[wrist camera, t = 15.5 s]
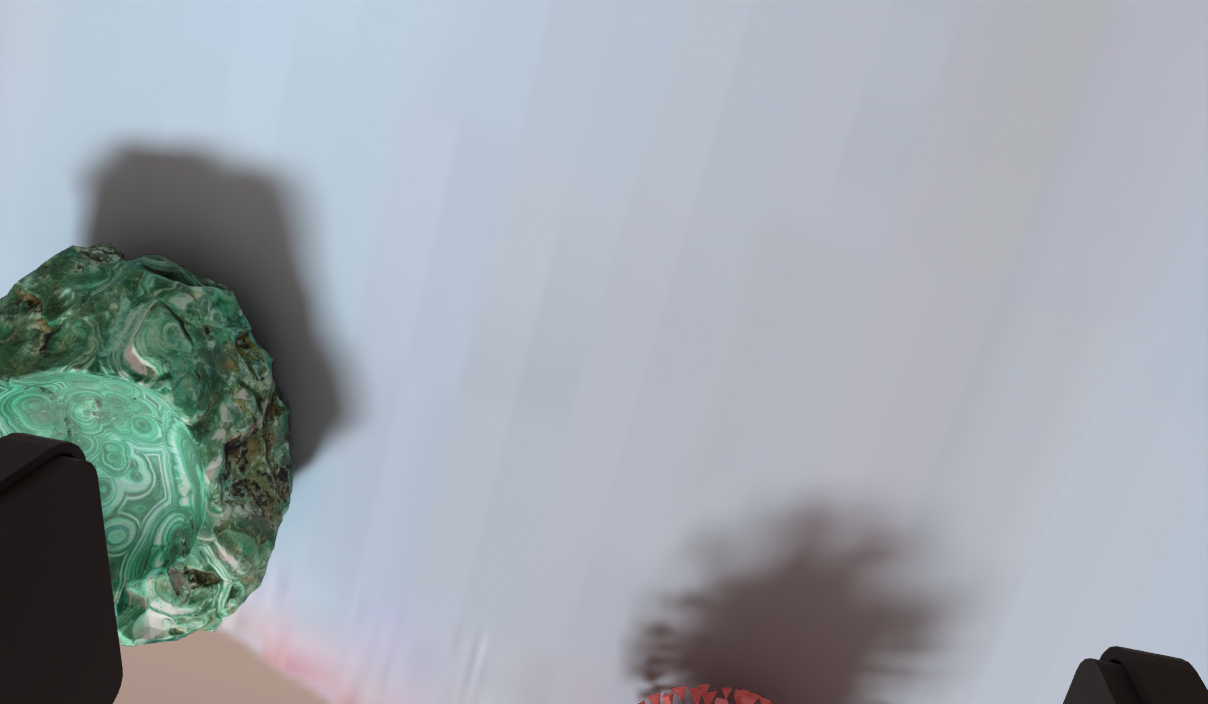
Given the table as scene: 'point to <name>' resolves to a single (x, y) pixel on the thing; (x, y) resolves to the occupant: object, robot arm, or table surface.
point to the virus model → (708, 696)
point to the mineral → (155, 427)
